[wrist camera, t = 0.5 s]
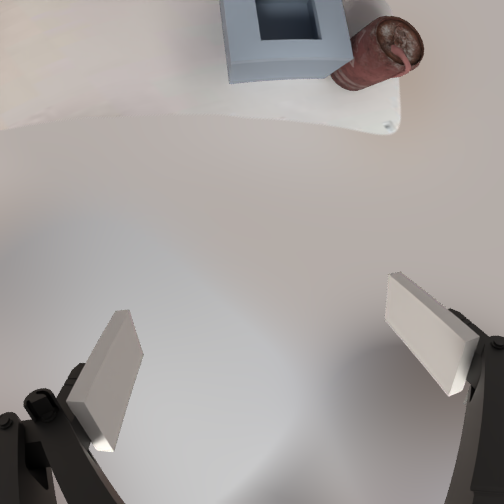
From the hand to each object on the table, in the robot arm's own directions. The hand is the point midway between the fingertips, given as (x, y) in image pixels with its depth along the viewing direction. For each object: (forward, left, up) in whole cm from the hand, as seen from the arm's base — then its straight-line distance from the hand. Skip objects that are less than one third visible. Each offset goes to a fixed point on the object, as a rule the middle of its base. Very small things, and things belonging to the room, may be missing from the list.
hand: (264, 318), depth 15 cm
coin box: (-23, +7, -26) cm, 35 cm away
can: (-18, +16, -26) cm, 36 cm away
